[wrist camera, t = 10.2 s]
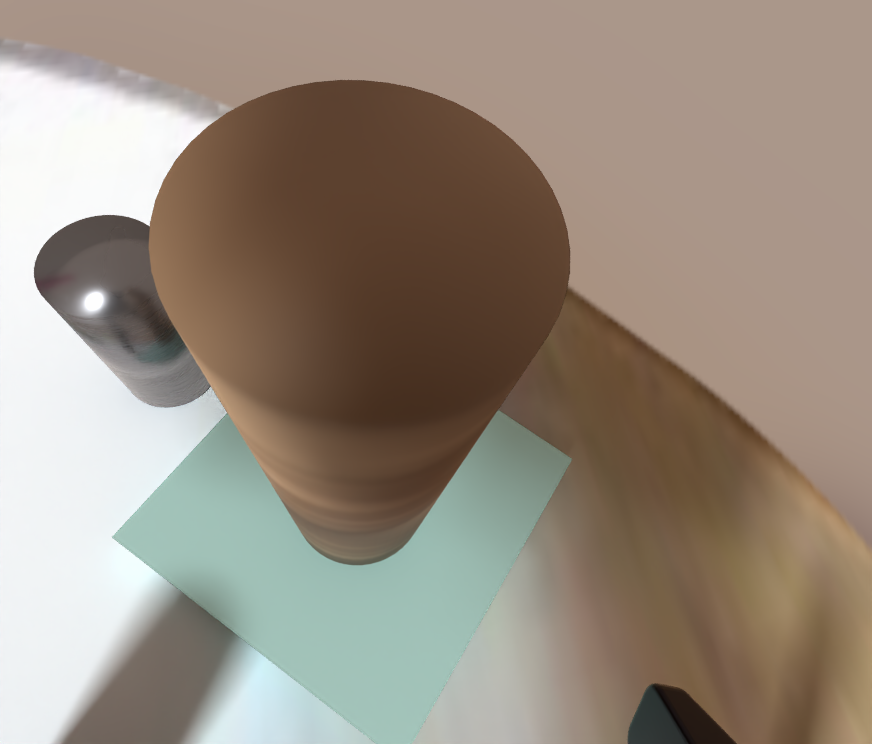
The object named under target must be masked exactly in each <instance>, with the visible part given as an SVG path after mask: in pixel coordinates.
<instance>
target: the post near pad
mask: <svg viewBox="0 0 872 744" xmlns="http://www.w3.org/2000/svg"><path fill="white" fill-rule="evenodd" d="M149 232H150V227H149V226H148V225H146V224H144V223H143V222H140V221H138V220H136V219H133V218H129V217H124V216H117V215H102V216H94V217H89V218H85V219H82V220H79V221H76V222H74V223H72V224H70V225H68V226H66V227H64V228H62V229H61V230H59V231H58V232H57V233H55V234H54V235H53V236H52V237H51V238H50V239H49V240H48V241H47V242H46V243H45V244H44V246H43V247H42V249H41V250H40V252H39V254H38V256H37V259H36V262H35V267H34V278H35V283H36V286H37V288H38V290H39V292H40V293H41V295H42V296H43V297H44V298H45V300H46V301H47V302H48V303H49V304H50V305H51V306H52V307H53V308H54V309H55V310H56V311H57V313H58V314H59V315H60V316H61V317H62V318H63V319H64V320H65V321H66V322H67V323H68V324H69V325H70V327H71V328H72V329H73V330H74V331H75V332H76V333H77V334H78V335H79V336H80V337H81V338H82V339H83V341H84V342H85V343H86V344H87V345H88V346H89V347H90V348H91V349H92V350H93V351H94V352H95V353H96V354H97V356H98V357H99V358H100V359H101V360H102V361H103V362H104V363H105V364H106V365H107V366H108V367H109V368H110V370H111V371H112V372H113V373H114V374H115V375H116V376H117V377H118V378H119V379H120V380H121V381H122V382H123V384H124V385H125V386H126V387H127V388H128V389H129V390H130V391H131V392H132V393H133V394H134V395H135V396H136V397H137V398H138V399H139V400H141V401H143V402H144V403H147V404H149V405H152V406H157V407H176V406H180V405H184V404H187V403H189V402H191V401H193V400H195V399H197V398H198V397H199V396H201V395H202V394H203V393H204V392H205V391H206V390H207V389H208V388H209V387H210V386H211V385H210V384H209V382H208V380H207V379H206V377H205V376H204V374H203V372H202V371H201V369H200V367H199V366H198V364H197V363H196V361H195V359H194V358H193V356H192V354H191V353H190V351H189V350H188V348H187V346H186V345H185V343H184V341H183V340H182V338H181V337H180V335H179V333H178V332H177V330H176V328H175V327H174V325H173V324H172V322H171V320H170V319H169V316H168V314H167V312H166V310H165V308H164V306H163V304H162V302H161V300H160V298H159V296H158V292H157V289H156V285H155V282H154V279H153V275H152V272H151V264H150V255H149Z"/></svg>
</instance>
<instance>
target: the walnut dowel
mask: <svg viewBox="0 0 872 744" xmlns="http://www.w3.org/2000/svg"><path fill="white" fill-rule="evenodd" d="M149 255H150V264H151V272H152V275H153V279H154V282H155V285H156V289H157V292H158V296H159V298H160V300H161V302H162V304H163V306H164V308H165V310H166V312H167V314H168V316H169V319H170V320H171V322H172V324H173V325H174V327H175V328H176V330H177V332H178V333H179V335H180V337H181V338H182V340H183V341H184V343H185V345H186V346H187V348H188V350H189V351H190V353H191V354H192V356H193V358H194V359H195V361H196V363H197V364H198V366H199V367H200V369H201V371H202V372H203V374H204V376H205V377H206V379H207V380H208V382H209V384H210V385H211V387H212V389H213V390H214V392H215V393H216V395H217V397H218V398H219V400H220V402H221V403H222V405H223V406H224V408H225V410H226V411H227V413H228V415H229V416H230V418H231V419H232V421H233V423H234V424H235V426H236V428H237V429H238V431H239V433H240V434H241V436H242V437H243V439H244V441H245V442H246V444H247V446H248V447H249V449H250V450H251V452H252V454H253V455H254V457H255V459H256V460H257V462H258V463H259V465H260V467H261V468H262V470H263V472H264V473H265V475H266V476H267V478H268V480H269V481H270V483H271V485H272V486H273V488H274V489H275V491H276V493H277V494H278V496H279V498H280V499H281V501H282V502H283V504H284V506H285V507H286V509H287V511H288V512H289V514H290V515H291V517H292V519H293V520H294V522H295V524H296V525H297V527H298V528H299V530H300V532H301V533H302V535H303V536H304V538H305V539H306V541H307V542H308V543H309V544H310V545H311V546H312V548H314V549H315V550H316V551H317V552H318V553H320V554H321V555H323V556H324V557H326V558H328V559H330V560H333V561H335V562H338V563H342V564H347V565H367V564H373V563H376V562H380V561H382V560H384V559H387V558H389V557H390V556H392V555H394V554H395V553H397V552H398V551H399V550H400V549H402V548H403V547H404V546H405V545H406V544H407V543H408V541H409V540H410V539H411V538H412V536H413V535H414V533H415V532H416V530H417V529H418V527H419V526H420V525H421V523H422V522H423V520H424V519H425V517H426V516H427V514H428V513H429V511H430V510H431V508H432V507H433V505H434V504H435V502H436V501H437V499H438V498H439V496H440V495H441V493H442V492H443V491H444V489H445V488H446V486H447V485H448V483H449V482H450V480H451V479H452V477H453V476H454V474H455V473H456V471H457V470H458V468H459V467H460V465H461V464H462V462H463V461H464V459H465V458H466V457H467V455H468V454H469V452H470V451H471V449H472V448H473V446H474V445H475V443H476V442H477V440H478V439H479V437H480V436H481V434H482V433H483V431H484V430H485V428H486V427H487V425H488V424H489V422H490V421H491V420H492V418H493V417H494V415H495V414H496V412H497V411H498V409H499V408H500V406H501V405H502V403H503V402H504V400H505V399H506V397H507V396H508V394H509V393H510V391H511V390H512V388H513V387H514V386H515V384H516V383H517V381H518V380H519V378H520V377H521V375H522V374H523V372H524V371H525V369H526V368H527V366H528V365H529V363H530V362H531V360H532V359H533V357H534V356H535V354H536V353H537V352H538V350H539V349H540V347H541V346H542V344H543V343H544V341H545V340H546V338H547V337H548V335H549V333H550V331H551V329H552V327H553V326H554V324H555V322H556V320H557V318H558V316H559V314H560V311H561V308H562V305H563V302H564V299H565V296H566V292H567V286H568V280H569V274H570V246H569V239H568V232H567V228H566V224H565V221H564V217H563V214H562V211H561V208H560V206H559V204H558V201H557V199H556V197H555V195H554V193H553V190H552V188H551V187H550V185H549V184H548V182H547V180H546V179H545V177H544V176H543V174H542V173H541V171H540V170H539V169H538V167H537V166H536V165H535V163H534V162H533V161H532V160H531V158H530V157H529V156H528V155H527V154H526V153H525V152H524V151H523V150H522V149H521V148H520V147H519V146H518V145H517V144H516V143H515V142H514V141H513V140H512V139H511V138H510V137H509V136H507V135H506V134H505V133H504V132H502V131H501V130H500V129H499V128H497V127H496V126H495V125H493V124H492V123H490V122H489V121H487V120H486V119H484V118H482V117H481V116H479V115H478V114H476V113H474V112H473V111H471V110H469V109H466V108H465V107H463V106H460V105H459V104H457V103H455V102H452V101H450V100H447V99H445V98H442V97H440V96H437V95H434V94H432V93H428V92H425V91H421V90H418V89H415V88H411V87H406V86H401V85H396V84H391V83H383V82H374V81H364V80H363V81H362V80H337V81H324V82H314V83H309V84H304V85H298V86H292V87H289V88H285V89H282V90H279V91H275V92H272V93H268V94H266V95H263V96H261V97H258V98H256V99H254V100H251V101H249V102H247V103H245V104H243V105H241V106H239V107H237V108H235V109H234V110H232V111H230V112H228V113H226V114H225V115H223V116H222V117H221V118H219V119H218V120H216V121H215V122H214V123H212V124H211V125H209V126H208V127H207V128H206V129H205V130H203V131H202V132H201V133H200V134H199V135H198V136H197V137H196V138H195V139H194V140H193V141H191V142H190V144H189V145H188V146H187V147H186V148H185V150H184V151H183V152H182V153H181V154H180V156H179V157H178V158H177V159H176V161H175V162H174V164H173V166H172V167H171V169H170V171H169V172H168V174H167V175H166V177H165V179H164V181H163V183H162V186H161V188H160V190H159V193H158V195H157V198H156V200H155V204H154V208H153V213H152V217H151V221H150V232H149Z"/></svg>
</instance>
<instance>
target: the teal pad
mask: <svg viewBox="0 0 872 744" xmlns="http://www.w3.org/2000/svg"><path fill="white" fill-rule="evenodd" d="M571 461H572V458H570V457H569V456H567V455H566V454H564V453H563V452H561V451H559V450H558V449H556V448H555V447H553V446H552V445H550V444H549V443H547V442H546V441H544V440H543V439H541V438H540V437H538V436H537V435H535V434H534V433H532V432H531V431H529V430H528V429H526V428H525V427H523V426H522V425H520V424H519V423H517V422H516V421H514V420H513V419H511V418H510V417H508V416H507V415H505V414H504V413H502V412H501V411H499V410H498V411H497V412H496V414H495V415H494V417H493V418H492V420H491V421H490V422H489V424H488V425H487V427H486V428H485V430H484V431H483V433H482V434H481V436H480V437H479V439H478V440H477V442H476V443H475V445H474V446H473V448H472V449H471V451H470V452H469V454H468V455H467V457H466V458H465V459H464V461H463V462H462V464H461V465H460V467H459V468H458V470H457V471H456V473H455V474H454V476H453V477H452V479H451V480H450V482H449V483H448V485H447V486H446V488H445V489H444V491H443V492H442V493H441V495H440V496H439V498H438V499H437V501H436V502H435V504H434V505H433V507H432V508H431V510H430V511H429V513H428V514H427V516H426V517H425V519H424V520H423V522H422V523H421V525H420V526H419V527H418V529H417V530H416V532H415V533H414V535H413V536H412V538H411V539H410V540H409V541H408V543H407V544H406V545H405V546H404V547H403V548H402V549H400V550H399V551H398V552H397V553H395V554H394V555H392V556H390V557H389V558H387V559H384V560H382V561H380V562H376V563H373V564H367V565H347V564H342V563H338V562H335V561H333V560H330V559H328V558H326V557H324V556H323V555H321V554H320V553H318V552H317V551H316V550H315V549H314V548H312V546H311V545H310V544H309V543H308V542H307V541H306V539H305V538H304V536H303V535H302V533H301V532H300V530H299V528H298V527H297V525H296V524H295V522H294V520H293V519H292V517H291V515H290V514H289V512H288V511H287V509H286V507H285V506H284V504H283V502H282V501H281V499H280V498H279V496H278V494H277V493H276V491H275V489H274V488H273V486H272V485H271V483H270V481H269V480H268V478H267V476H266V475H265V473H264V472H263V470H262V468H261V467H260V465H259V463H258V462H257V460H256V459H255V457H254V455H253V454H252V452H251V450H250V449H249V447H248V446H247V444H246V442H245V441H244V439H243V437H242V436H241V434H240V433H239V431H238V429H237V428H236V426H235V424H234V423H233V421H232V419H231V418H230V416H229V415H228V413H227V414H226V415H225V416H224V417H223V418H222V419H221V420H220V422H219V423H218V424H217V425H216V426H215V427H214V428H213V429H212V430H211V431H210V432H209V433H208V434H207V436H206V437H205V438H204V439H203V440H202V441H201V442H200V443H199V444H198V445H197V446H196V447H195V448H194V450H193V451H192V452H191V453H190V454H189V455H188V456H187V457H186V458H185V459H184V460H183V461H182V462H181V464H180V465H179V466H178V467H177V468H176V469H175V470H174V471H173V472H172V473H171V474H170V475H169V476H168V477H167V479H166V480H165V481H164V482H163V483H162V484H161V485H160V486H159V487H158V488H157V489H156V490H155V491H154V493H153V494H152V495H151V496H150V497H149V498H148V499H147V500H146V501H145V502H144V503H143V504H142V505H141V507H140V508H139V509H138V510H137V511H136V512H135V513H134V514H133V515H132V516H131V517H130V518H129V519H128V521H127V522H126V523H125V524H124V525H123V526H122V527H121V528H120V529H119V530H118V531H117V532H116V533H115V535H114V536H113V537H112V538H113V539H115V540H116V541H117V542H119V543H120V544H121V545H122V546H124V547H125V548H126V549H127V550H129V551H130V552H131V553H133V554H134V555H135V556H136V557H138V558H139V559H140V560H142V561H143V562H144V563H145V564H147V565H148V566H149V567H151V568H152V569H153V570H154V571H156V572H157V573H158V574H159V575H161V576H162V577H163V578H165V579H166V580H167V581H168V582H170V583H171V584H172V585H174V586H175V587H176V588H177V589H179V590H180V591H181V592H183V593H184V594H185V595H186V596H188V597H189V598H190V599H191V600H193V601H194V602H195V603H197V604H198V605H199V606H200V607H202V608H203V609H204V610H206V611H207V612H208V613H209V614H211V615H212V616H213V617H215V618H216V619H217V620H218V621H220V622H221V623H222V624H223V625H225V626H226V627H227V628H229V629H230V630H231V631H232V632H234V633H235V634H236V635H238V636H239V637H240V638H241V639H243V640H244V641H245V642H247V643H248V644H249V645H250V646H252V647H253V648H254V649H255V650H257V651H258V652H259V653H261V654H262V655H263V656H264V657H266V658H267V659H268V660H270V661H271V662H272V663H273V664H275V665H276V666H277V667H278V668H280V669H281V670H282V671H284V672H285V673H286V674H287V675H289V676H290V677H291V678H293V679H294V680H295V681H296V682H298V683H299V684H300V685H302V686H303V687H304V688H305V689H307V690H308V691H309V692H310V693H312V694H313V695H314V696H316V697H317V698H318V699H319V700H321V701H322V702H323V703H325V704H326V705H327V706H328V707H330V708H331V709H332V710H334V711H335V712H336V713H337V714H339V715H340V716H341V717H342V718H344V719H345V720H346V721H348V722H349V723H350V724H351V725H353V726H354V727H355V728H357V729H358V730H359V731H360V732H362V733H363V734H364V735H366V736H367V737H368V738H369V739H371V740H372V741H373V742H374V743H376V744H412V743H413V741H414V739H415V738H416V736H417V734H418V732H419V730H420V729H421V727H422V725H423V723H424V722H425V720H426V718H427V716H428V714H429V713H430V711H431V709H432V707H433V706H434V704H435V702H436V700H437V699H438V697H439V695H440V693H441V691H442V690H443V688H444V686H445V684H446V683H447V681H448V679H449V677H450V675H451V674H452V672H453V670H454V668H455V667H456V665H457V663H458V661H459V659H460V658H461V656H462V654H463V652H464V651H465V649H466V647H467V645H468V643H469V642H470V640H471V638H472V636H473V635H474V633H475V631H476V629H477V628H478V626H479V624H480V622H481V620H482V619H483V617H484V615H485V613H486V612H487V610H488V608H489V606H490V604H491V603H492V601H493V599H494V597H495V596H496V594H497V592H498V590H499V588H500V587H501V585H502V583H503V581H504V580H505V578H506V576H507V574H508V572H509V571H510V569H511V567H512V565H513V564H514V562H515V560H516V558H517V556H518V555H519V553H520V551H521V549H522V548H523V546H524V544H525V542H526V541H527V539H528V537H529V535H530V533H531V532H532V530H533V528H534V526H535V525H536V523H537V521H538V519H539V517H540V516H541V514H542V512H543V510H544V509H545V507H546V505H547V503H548V501H549V500H550V498H551V496H552V494H553V493H554V491H555V489H556V487H557V485H558V484H559V482H560V480H561V478H562V477H563V475H564V473H565V471H566V470H567V468H568V466H569V464H570V462H571Z"/></svg>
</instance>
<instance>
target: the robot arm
mask: <svg viewBox="0 0 872 744" xmlns="http://www.w3.org/2000/svg"><path fill="white" fill-rule="evenodd" d="M628 744H737V743H736V742H735V741H734V740H733V739H732V738H731V737H730V736H729V735H728V734H727V733H726V732H725V731H724V730H723V729H722V728H721V727H720V726H719V725H718V724H717V723H716V722H715V721H714V720H713V719H712V718H711V717H710V716H709V715H708V714H707V713H706V712H705V711H704V710H703V709H702V708H701V707H700V706H699V705H698V704H697V703H696V702H695V700H694V699H693V698H692V697H691V696H690V695H689V694H687V693H686V692H685V691H684V690H682V689H680V688H678V687H673V686H667V685H662V684H656V683H655V684H651V685H650V686H648V687H647V689H646V690H645V692H644V695H643V697H642V699H641V702H640V704H639V706H638V708H637V711H636V713H635V715H634V717H633V720H632V722H631V724H630V727H629V731H628Z"/></svg>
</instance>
